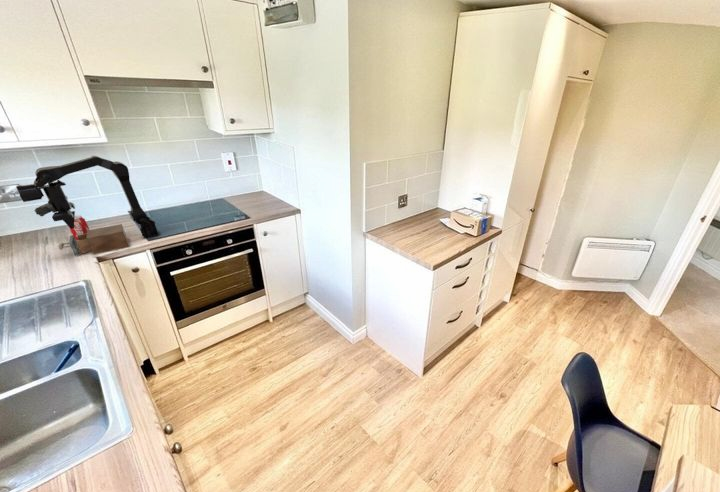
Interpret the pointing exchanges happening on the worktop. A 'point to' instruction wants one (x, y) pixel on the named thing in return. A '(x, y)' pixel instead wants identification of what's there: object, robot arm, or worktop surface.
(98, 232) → the cabinet
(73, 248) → the drawer
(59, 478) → the worktop surface
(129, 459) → the worktop surface
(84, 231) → the soda can
